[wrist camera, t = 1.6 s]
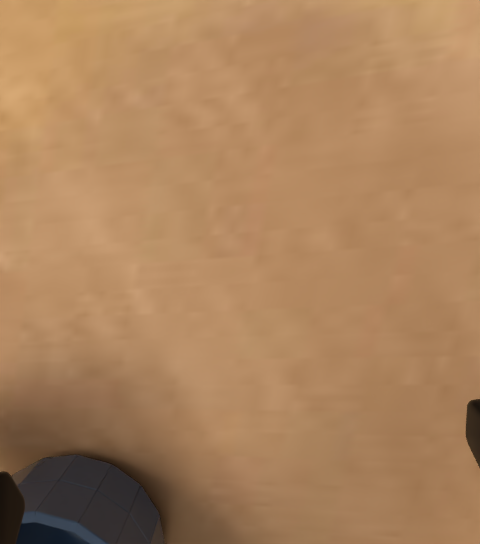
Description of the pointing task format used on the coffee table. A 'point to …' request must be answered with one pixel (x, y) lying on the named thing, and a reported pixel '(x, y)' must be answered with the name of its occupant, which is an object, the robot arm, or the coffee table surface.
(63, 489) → the pot
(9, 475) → the robot arm
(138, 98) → the coffee table surface
